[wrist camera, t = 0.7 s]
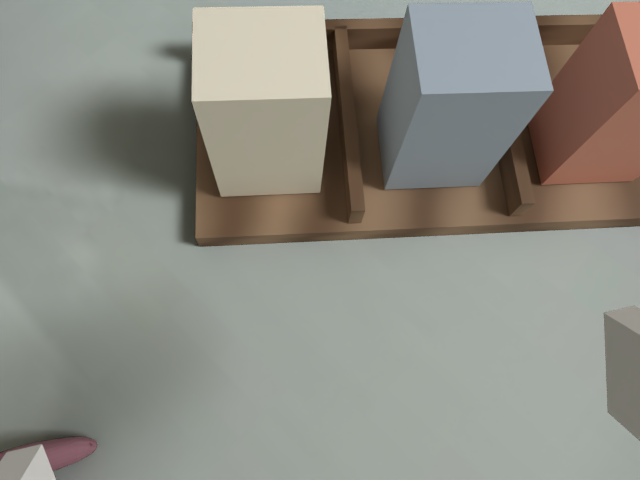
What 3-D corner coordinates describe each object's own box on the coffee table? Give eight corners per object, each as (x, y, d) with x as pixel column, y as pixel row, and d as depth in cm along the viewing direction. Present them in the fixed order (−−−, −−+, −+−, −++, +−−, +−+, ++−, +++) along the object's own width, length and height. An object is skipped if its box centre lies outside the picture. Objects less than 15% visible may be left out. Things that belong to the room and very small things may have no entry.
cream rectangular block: (221, 196, 32) (191, 101, 23) (220, 124, 34) (192, 7, 24) (320, 192, 33) (331, 97, 23) (314, 121, 34) (323, 5, 25)
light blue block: (384, 189, 33) (421, 94, 23) (376, 119, 34) (408, 3, 25) (479, 185, 33) (553, 90, 24) (467, 116, 35) (531, 1, 25)
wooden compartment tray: (199, 246, 33) (189, 226, 30) (200, 57, 37) (192, 21, 34) (648, 225, 35) (686, 204, 32) (598, 48, 39) (626, 14, 36)
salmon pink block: (541, 184, 33) (639, 90, 24) (525, 115, 35) (611, 2, 26) (632, 181, 34) (763, 86, 24) (613, 113, 36) (729, 0, 26)
